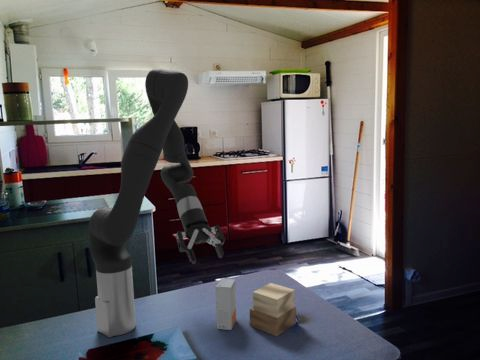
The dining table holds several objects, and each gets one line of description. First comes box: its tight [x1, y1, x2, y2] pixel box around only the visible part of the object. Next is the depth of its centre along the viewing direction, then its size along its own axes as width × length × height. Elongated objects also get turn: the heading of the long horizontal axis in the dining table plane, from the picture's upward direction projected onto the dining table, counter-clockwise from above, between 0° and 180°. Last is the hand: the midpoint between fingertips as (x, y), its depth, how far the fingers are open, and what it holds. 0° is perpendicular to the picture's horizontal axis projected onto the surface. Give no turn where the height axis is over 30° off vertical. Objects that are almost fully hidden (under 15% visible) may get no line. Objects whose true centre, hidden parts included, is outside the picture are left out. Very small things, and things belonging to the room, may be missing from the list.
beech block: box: [252, 282, 296, 318], centre depth 112 cm, size 8×8×5 cm
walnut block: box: [249, 306, 297, 337], centre depth 113 cm, size 9×9×5 cm
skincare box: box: [215, 278, 237, 331], centre depth 113 cm, size 6×4×12 cm
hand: (208, 259), depth 121 cm, fingers open, 8 cm apart
